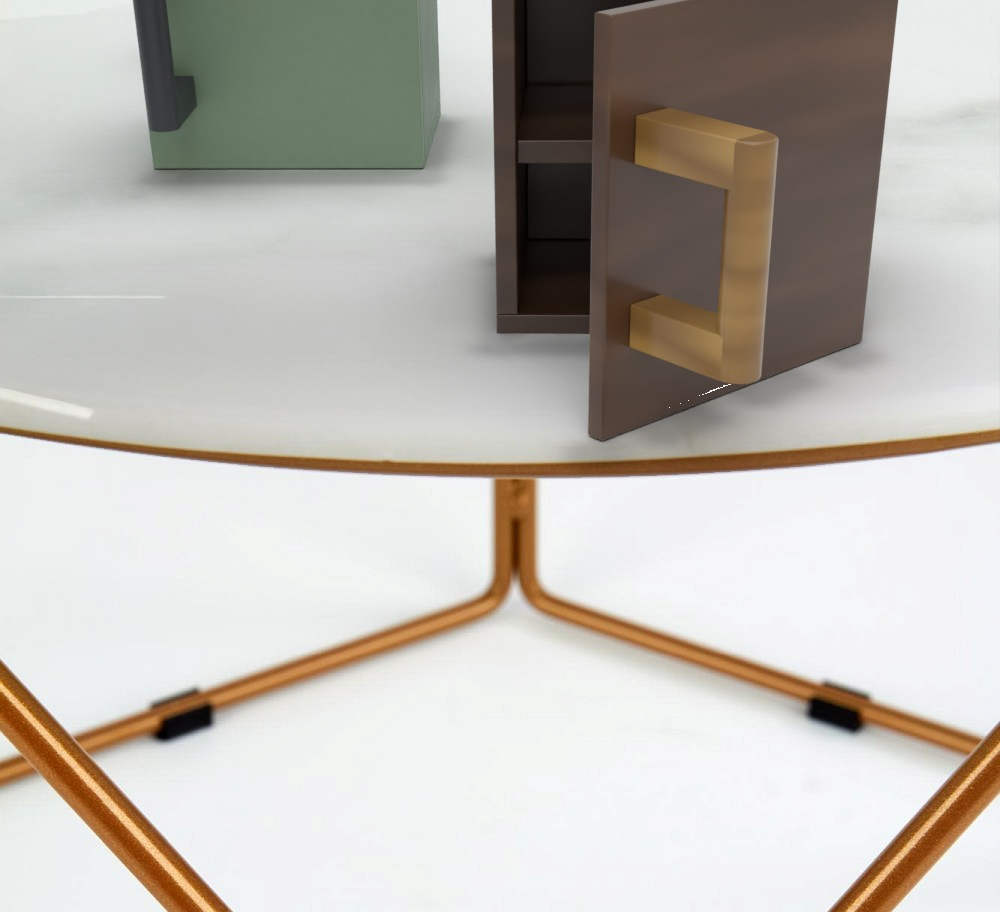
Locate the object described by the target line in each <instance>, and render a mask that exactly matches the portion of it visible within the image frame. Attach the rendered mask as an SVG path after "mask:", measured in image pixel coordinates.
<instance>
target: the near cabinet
mask: <svg viewBox="0 0 1000 912" xmlns="http://www.w3.org/2000/svg"><path fill="white" fill-rule="evenodd" d="M650 1H655V0H491V44H492V45H491V53H492V54H491V55H492V61H491V62H492V116H493V117H492V119H493V122H492V123H493V176H494V177H493V180H494V182H493V183H494V184H493V185H494V187H493V189H494V190H493V191H494V244H495V246H494V247H495V248H494V249H495V250H494V251H495V304H496V305H495V308H496V309H495V311H496V317H495V319H496V334H499V335H500V334H501V335H503V334H505V335H507V334H512V335H513V334H514V335H515V334H516V335H517V334H518V335H522V334H524V335H525V334H526V335H528V334H529V335H531V334H532V335H548V334H549V335H562V334H563V335H590V279H591V215H592V151H593V86H594V22H595V13H596V12H599V11H604V10H609V9H614V8H619V7H625V6H630V5H635V4H640V3H645V2H650Z"/></svg>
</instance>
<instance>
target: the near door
mask: <svg viewBox="0 0 1000 912" xmlns="http://www.w3.org/2000/svg"><path fill="white" fill-rule="evenodd" d="M898 6H899V0H655V1H650V2H645V3H640V4H635V5H630V6H625V7H619V8H614V9H609V10H604V11H599V12H596V13H595V22H594V86H593V151H592V215H591V279H590V334H589V346H588V347H589V349H588V351H589V353H588V355H589V356H588V359H589V360H588V407H587V408H588V413H587V414H588V416H587V419H588V420H587V435H588V436H590V437H591V438H594V439H597V440H599V441H602V442H603V441H607V440H609V439H611V438H614V437H617V436H619V435H621V434H625V433H627V432H630V431H632V430H635V429H637V428H640V427H642V426H645V425H647V424H650V423H653V422H656V421H658V420H660V419H663V418H667V417H668V416H671V415H675V414H676V413H679V412H681V411H684V410H686V409H689V408H692V407H695V406H697V405H700V404H702V403H705V402H708V401H710V400H713V399H715V398H718V397H720V396H723V395H726V394H728V393H731V392H733V391H737V390H739V389H741V388H744V387H747V386H750V385H752V384H755V383H756V382H760V381H763V380H765V379H767V378H770V377H773V376H776V375H777V374H781V373H782V372H786V371H787V370H788V371H789V370H791V369H793V368H796V367H799V366H801V365H803V364H806V363H810V362H811V361H814V360H816V359H820V358H822V357H825V356H827V355H830V354H832V353H835V352H837V351H840V350H843V349H845V348H848V347H850V346H853V345H855V344H856V345H857V344H859V343H861V342H862V341H863V333H864V325H865V324H864V323H865V316H866V315H865V314H866V306H867V297H868V296H867V295H868V286H869V279H870V278H869V277H870V269H871V268H870V267H871V259H872V250H873V241H874V240H873V239H874V231H875V223H876V212H877V203H878V193H879V185H880V177H881V167H882V158H883V157H882V156H883V147H884V137H885V128H886V118H887V109H888V100H889V92H890V84H891V83H890V82H891V74H892V73H891V72H892V63H893V53H894V45H895V36H896V35H895V34H896V25H897V18H898V17H897V16H898ZM728 384H731V385H728ZM723 385H728V386H725V387H723ZM718 387H719V388H720V387H723V388H720V389H717V390H715V391H712V392H710V393H707V392H709V391H710V390H713V389H716V388H718ZM705 393H707V394H705ZM702 394H704V395H702ZM699 395H700V396H699ZM688 400H689V401H688ZM680 403H681V404H680ZM669 407H670V408H669Z"/></svg>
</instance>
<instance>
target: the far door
mask: <svg viewBox="0 0 1000 912" xmlns="http://www.w3.org/2000/svg"><path fill="white" fill-rule="evenodd" d="M132 7H133V15H134V21H135V31H136V38H137V45H138V54H139V62H140V70H141V77H142V87H143V94H144V102H145V103H144V104H145V111H146V117H147V118H146V119H147V126H148V135H149V142H150V143H149V144H150V150H151V159H152V160H151V161H152V167H153V169H155V170H159V169H160V170H163V169H165V170H167V169H168V170H170V169H171V170H174V169H175V170H176V169H179V170H180V169H183V170H186V169H187V170H188V169H191V170H194V169H195V170H196V169H200V170H201V169H203V170H204V169H207V170H209V169H213V170H214V169H216V170H217V169H221V170H223V169H226V170H227V169H234V170H236V169H237V170H238V169H244V170H245V169H250V170H251V169H252V170H253V169H254V170H255V169H257V170H259V169H262V170H263V169H264V170H265V169H272V170H273V169H274V170H275V169H276V170H277V169H424V167H425V165H426V164H425V156H424V130H423V103H422V77H421V50H420V24H419V0H132Z"/></svg>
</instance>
